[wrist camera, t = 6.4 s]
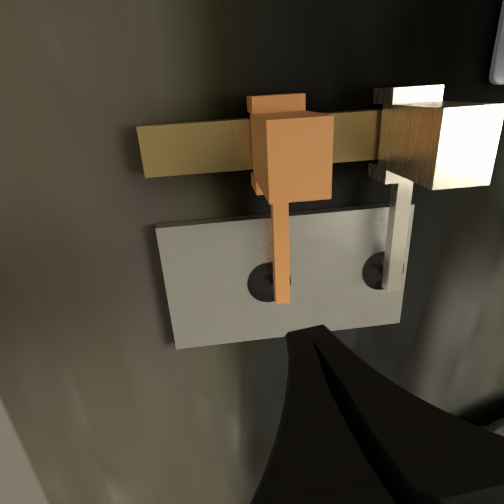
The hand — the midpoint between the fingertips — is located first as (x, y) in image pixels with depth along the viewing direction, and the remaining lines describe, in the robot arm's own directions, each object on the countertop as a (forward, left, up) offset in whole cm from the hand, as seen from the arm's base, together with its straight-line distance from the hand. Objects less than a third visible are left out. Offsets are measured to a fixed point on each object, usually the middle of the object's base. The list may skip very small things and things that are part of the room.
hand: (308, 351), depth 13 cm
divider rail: (-1, -3, -10) cm, 10 cm away
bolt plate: (-1, +2, -10) cm, 10 cm away
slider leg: (-1, -3, -10) cm, 10 cm away
